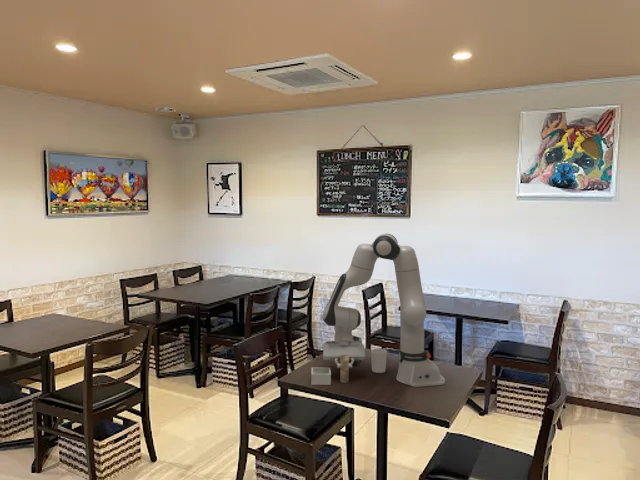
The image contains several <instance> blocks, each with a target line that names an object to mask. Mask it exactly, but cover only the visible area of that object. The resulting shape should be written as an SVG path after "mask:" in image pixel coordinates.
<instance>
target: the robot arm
mask: <svg viewBox="0 0 640 480" xmlns="http://www.w3.org/2000/svg"><path fill="white" fill-rule="evenodd" d="M417 257H418V256H417V254H416V251H415V249H414V248H413V247H412V246H410V245H400V244H399V243H398V240H397V237H395V236H394V235H393V234H391V233H383V234H379V235H378V236H377V237H376V238H375V239H374V241H373V242H372V244H371V243H361V244H359V245H357V247H356V248H355V250H354V253H353V256H352V260H351V262H350V266H349V267H348V270H347V271H345V273H342V274H340V277H339V279H337V281H336V285H335V286H334V288H333V290H332V293H331V296H330V298H329V300H328V303H327V304H326V306H325V307H324V309H323V312H322V320H323V322H324V323H325V325H326V326H329V327H330V326H331V327H333V329H334V335H333V337H334V340H331V341H328V340H326V341H324V342H323V343H322V345H321V349H323V351H322V352H323V353H322V359H323V360H324V361H334V363H335V364H336V365H337V367H336V369H340V368H341V366H340V363H339V361H340V356H341V355H348V356H349V360H351V363H349V369H352V368H353V364H354V363H353V362H354V360H357V361H359V360H361V361H364V360H365V359H366V348H365V345H364V344H363V343H362V341H363V339H362V338H361V337H359V336H357V335H353V333H352V331H354V330H356V329H358V328H359V326H360V325H361V324H362V323H361V322H362V315H361V313H360V311H359V309H357V308H353V307H347V306H339V303H340V302H341V299H342V297H343V294H344V293H345V292H346V290H348V289H350V288H353V287H358V286H359V287H360V286H362V285H365V284H366V283H369V281H370V280H371V279H372V277H373V272H374V269H375V264H376V262H377V260H378V259H382V260H389V261H393V264H394V271H395V279H396V285H397V292H398V297H399V308H400V309H399V314H400V315H399V320H400V321H399V322H400V323H399V324H400V327H399V330H400V341H399V342H400V344H399V351H398V362H399V363H398V370H397V371H398V372H397V373H396V377H395V378H396V380H397V381H398V382H399V383H402V384H404V385H409V386H411V387H413V388H419V387H431V386H443V385H445V384H446V378H445V377H444V376H443V375H442V374H441V372H440V368H439V367H438V365H437V364H436V363H434V362H433V361H432V360H430V358H432V355H431V354H430V353H429V352H428V351H427V350H425V326H424V325H425V323H424V322H425V319H426V317H427V309H426V303H425V297H424V292H423V286H422V281H421V280H422V279H421V272H420V268H419V267H420V265H419V261H418V258H417Z"/></svg>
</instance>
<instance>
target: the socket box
mask: <svg viewBox="0 0 640 480" xmlns="http://www.w3.org/2000/svg"><path fill="white" fill-rule="evenodd" d="M310 368H311V373H310V374H311V376H310V377H311V380H310V382H311V383H310V384H311V386H330V385H331V384H332V377H331V376H332V372H331V367H310Z"/></svg>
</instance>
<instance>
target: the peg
mask: <svg viewBox="0 0 640 480" xmlns="http://www.w3.org/2000/svg"><path fill="white" fill-rule="evenodd" d="M339 361H340V363H339V364H340V366H341V368H339V369H340V370H339V371H340V373H339V374H340V375H339V378H340V379H339V381H340V382H341V383H344V384H346V383H347V384H348V383H349V381H350V376H349V375H350V373H349V372H350V368H349V356H348V355H341V356H340V360H339Z"/></svg>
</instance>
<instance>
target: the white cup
mask: <svg viewBox="0 0 640 480" xmlns="http://www.w3.org/2000/svg"><path fill="white" fill-rule="evenodd" d="M387 355H388V350H386V349H383V348H374V349H371V350H370V360H371V371H372V372H373V373H377V374H382V373H385V372H386V369H387V367H386V366H387Z"/></svg>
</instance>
